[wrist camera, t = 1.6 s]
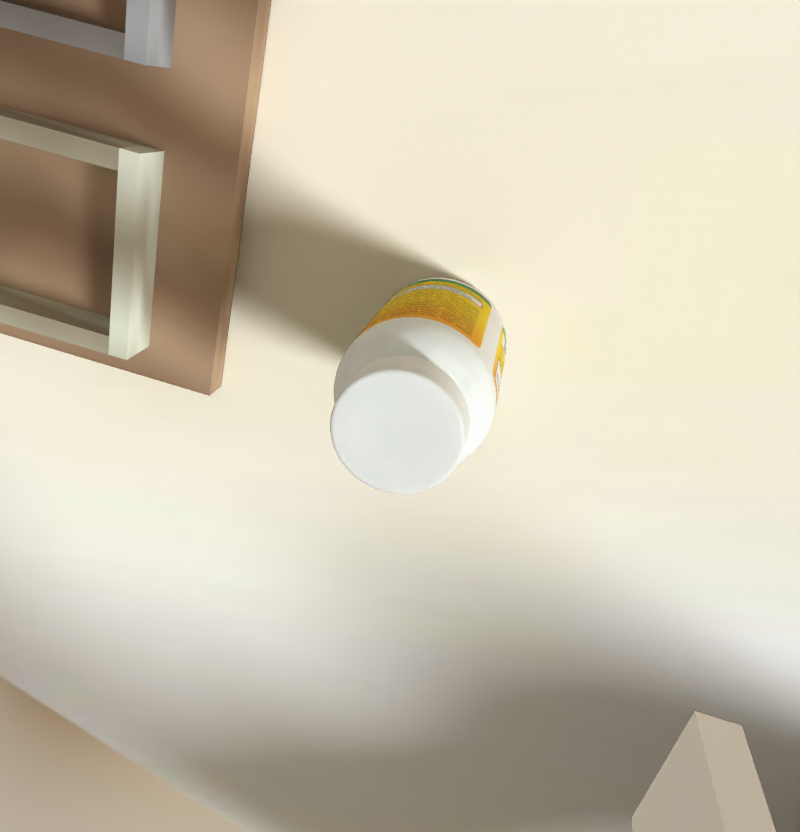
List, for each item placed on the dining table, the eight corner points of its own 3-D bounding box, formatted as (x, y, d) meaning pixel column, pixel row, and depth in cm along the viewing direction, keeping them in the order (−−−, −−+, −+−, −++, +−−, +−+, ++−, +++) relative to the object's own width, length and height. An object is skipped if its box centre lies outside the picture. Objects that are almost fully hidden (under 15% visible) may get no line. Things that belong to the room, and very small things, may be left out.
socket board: (220, 385, 32) (190, 411, 29) (-62, 301, 33) (-116, 319, 30) (302, -236, 22) (268, -283, 20) (-100, -328, 23) (-184, -385, 21)
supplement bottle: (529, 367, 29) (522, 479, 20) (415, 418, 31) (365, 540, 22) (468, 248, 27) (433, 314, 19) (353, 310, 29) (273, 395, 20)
